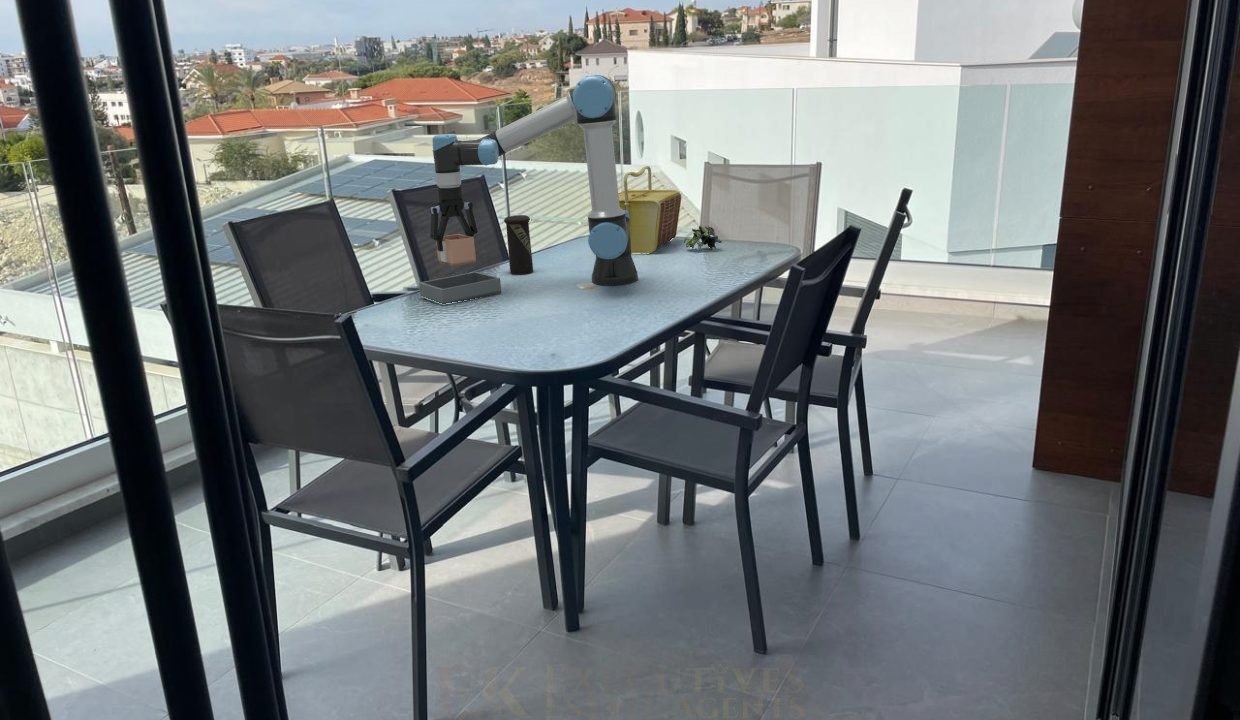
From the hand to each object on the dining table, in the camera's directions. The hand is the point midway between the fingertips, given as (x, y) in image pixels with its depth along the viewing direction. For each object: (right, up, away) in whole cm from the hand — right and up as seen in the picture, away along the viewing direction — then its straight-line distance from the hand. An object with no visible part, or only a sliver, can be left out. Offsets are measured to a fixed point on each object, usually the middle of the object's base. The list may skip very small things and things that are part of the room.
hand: (456, 259), depth 287 cm
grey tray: (+1, -11, +4) cm, 12 cm away
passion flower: (+82, +9, +53) cm, 98 cm away
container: (+17, -1, +33) cm, 37 cm away
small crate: (0, -1, 0) cm, 1 cm away
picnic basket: (+60, +11, +66) cm, 89 cm away
